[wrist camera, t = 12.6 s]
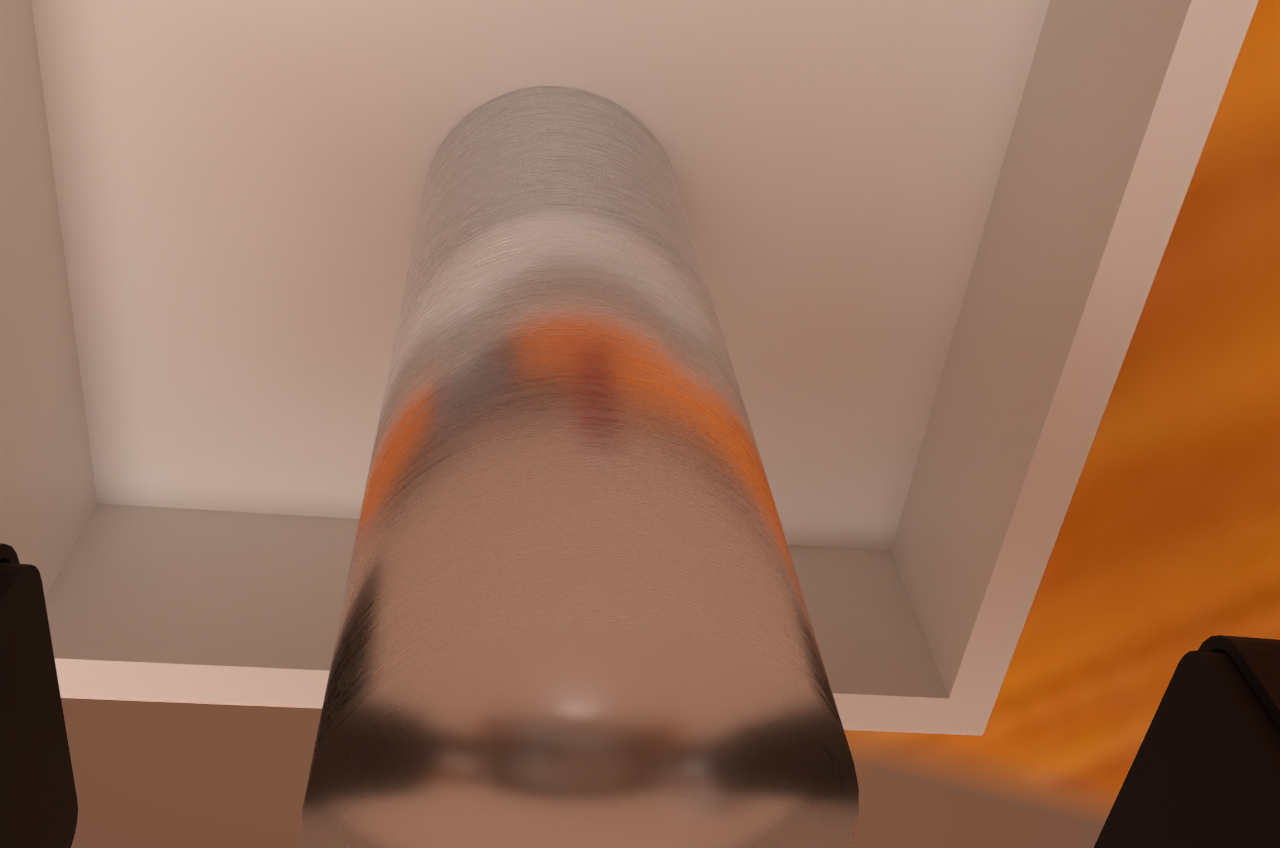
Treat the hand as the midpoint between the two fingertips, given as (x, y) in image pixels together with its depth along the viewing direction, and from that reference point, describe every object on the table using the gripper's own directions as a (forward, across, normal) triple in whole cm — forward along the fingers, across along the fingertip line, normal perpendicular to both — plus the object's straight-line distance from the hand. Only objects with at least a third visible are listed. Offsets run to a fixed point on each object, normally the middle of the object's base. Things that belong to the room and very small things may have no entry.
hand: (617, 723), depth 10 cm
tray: (+11, +1, 0) cm, 11 cm away
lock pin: (+11, +1, 0) cm, 11 cm away
